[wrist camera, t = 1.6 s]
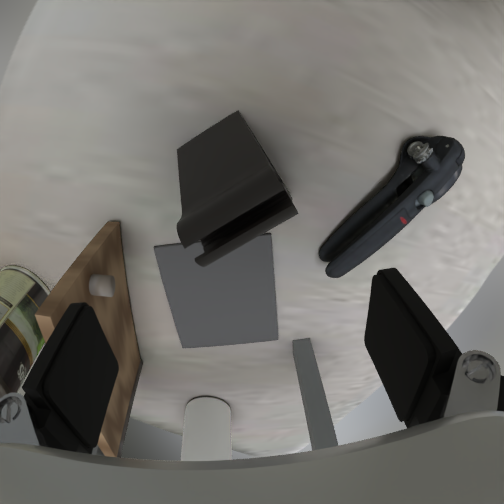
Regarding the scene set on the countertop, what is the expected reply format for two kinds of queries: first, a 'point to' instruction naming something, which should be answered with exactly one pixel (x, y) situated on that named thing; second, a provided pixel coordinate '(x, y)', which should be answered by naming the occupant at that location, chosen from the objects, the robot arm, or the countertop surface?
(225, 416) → the can
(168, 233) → the countertop surface
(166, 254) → the rubber mat
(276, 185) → the phone stand
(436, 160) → the can opener
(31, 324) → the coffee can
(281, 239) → the countertop surface
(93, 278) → the gate door
